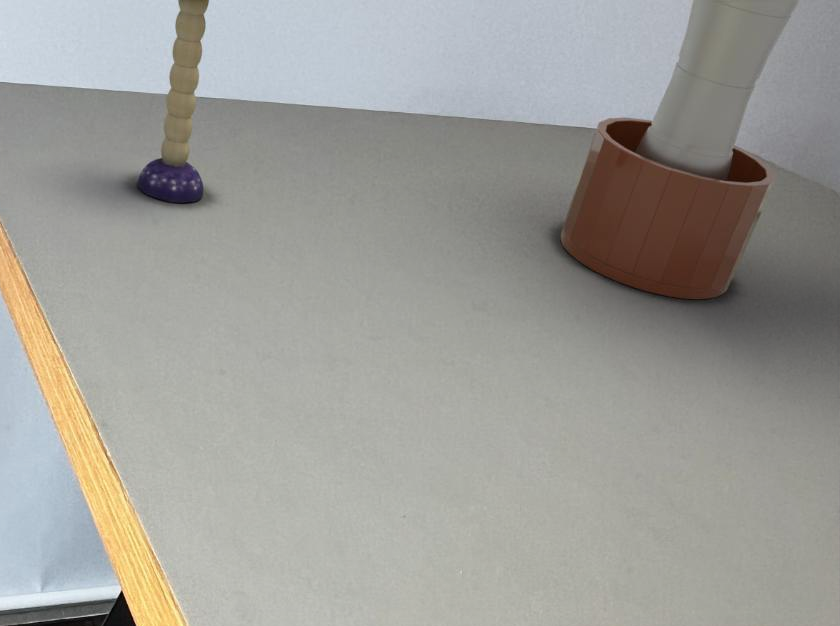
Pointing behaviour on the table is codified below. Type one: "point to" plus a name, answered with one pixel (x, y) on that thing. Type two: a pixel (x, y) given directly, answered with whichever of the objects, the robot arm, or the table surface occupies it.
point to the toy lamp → (179, 113)
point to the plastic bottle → (713, 84)
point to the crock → (662, 216)
